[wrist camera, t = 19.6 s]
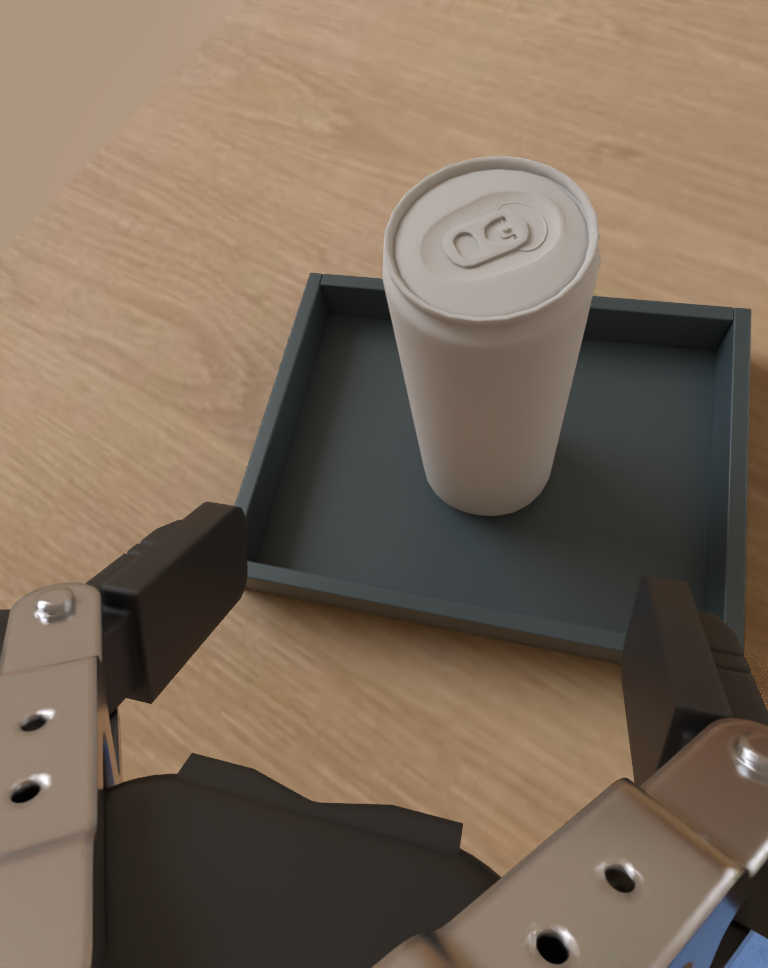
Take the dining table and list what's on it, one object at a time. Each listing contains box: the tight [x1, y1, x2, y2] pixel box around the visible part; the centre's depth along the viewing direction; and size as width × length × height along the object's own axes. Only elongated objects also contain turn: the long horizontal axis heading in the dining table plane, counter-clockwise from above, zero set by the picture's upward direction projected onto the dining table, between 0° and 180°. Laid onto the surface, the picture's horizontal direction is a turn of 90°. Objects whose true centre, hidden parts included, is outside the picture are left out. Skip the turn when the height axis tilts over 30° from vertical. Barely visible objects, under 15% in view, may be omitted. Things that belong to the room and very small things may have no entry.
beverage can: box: [382, 156, 600, 516], centre depth 19 cm, size 5×5×12 cm
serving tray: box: [235, 273, 751, 664], centre depth 24 cm, size 17×13×2 cm
